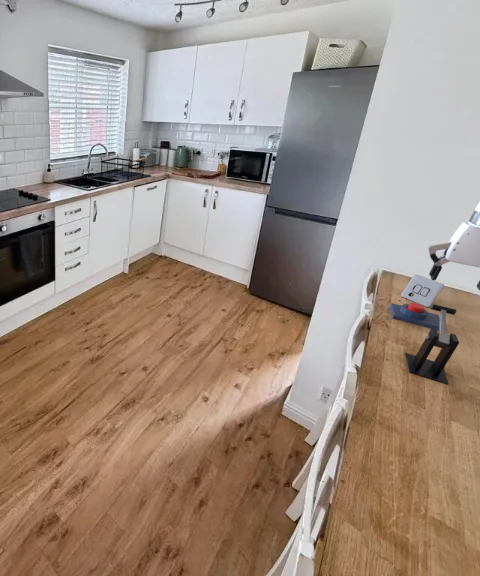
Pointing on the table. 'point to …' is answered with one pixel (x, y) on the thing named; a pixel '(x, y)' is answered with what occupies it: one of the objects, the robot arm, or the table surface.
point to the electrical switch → (422, 290)
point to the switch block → (414, 316)
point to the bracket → (427, 367)
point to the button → (415, 307)
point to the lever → (442, 325)
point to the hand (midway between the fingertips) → (455, 283)
